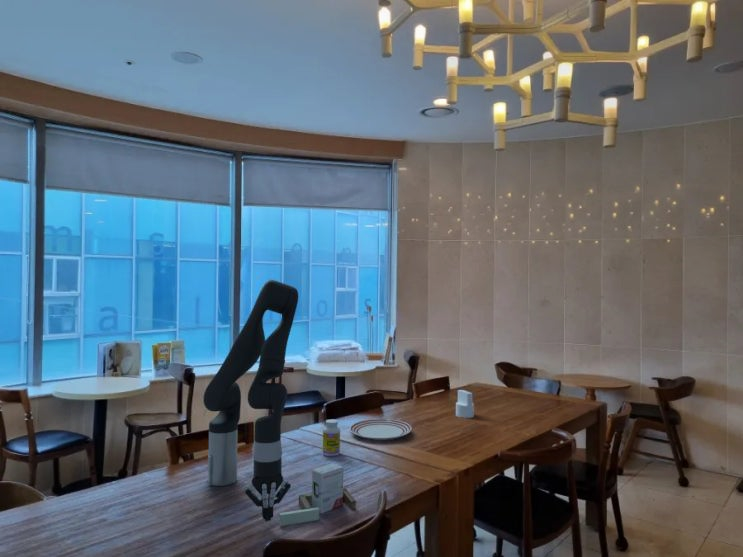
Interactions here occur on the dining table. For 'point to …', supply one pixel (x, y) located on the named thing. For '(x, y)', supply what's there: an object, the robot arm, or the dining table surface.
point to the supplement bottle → (331, 438)
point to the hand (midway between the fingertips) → (267, 519)
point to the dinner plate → (380, 429)
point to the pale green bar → (299, 516)
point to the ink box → (327, 487)
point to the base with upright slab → (464, 404)
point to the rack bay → (307, 500)
